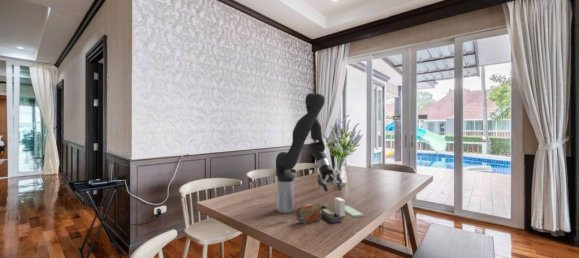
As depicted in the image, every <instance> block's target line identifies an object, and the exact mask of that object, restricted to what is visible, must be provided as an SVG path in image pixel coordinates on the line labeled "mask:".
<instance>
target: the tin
mask: <svg viewBox="0 0 579 258" xmlns="http://www.w3.org/2000/svg"><path fill="white" fill-rule="evenodd" d="M322 206H323V205H321V204H318V203H312V204H304V205H301V206H299V207H298V208H297V210H296V211H295V213H296V214H295V217H296V220H297V221H298V222H300V223H301V224H304V225H305V224H309V223H313V222H317V221H320V220H321V219H322V217H323V208H322Z"/></svg>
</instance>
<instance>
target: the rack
mask: <svg viewBox="0 0 579 258" xmlns="http://www.w3.org/2000/svg"><path fill="white" fill-rule="evenodd" d="M321 206H322V208H323V209H329V210H330V211H332V212H333V213H334V217H331V216H329V215H328V214H327V213H325V212H324V211H323V216H322V217H323V218H324V219H326V220H327V221H328V222H329V223H330V224H336V223H341V222H342V217H340V216H339V215H337V214H336V213H335V211H333V210H332V209H330V208H328V207H327V206H325V205H324V204H323V205H321Z"/></svg>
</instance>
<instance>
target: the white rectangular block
mask: <svg viewBox="0 0 579 258" xmlns="http://www.w3.org/2000/svg"><path fill="white" fill-rule="evenodd" d="M345 206H346V200H345V199H343V198H341V197H335V198H334V213H336V214H337V215H339V216H340V217H341V218H342V217H346V212H345Z"/></svg>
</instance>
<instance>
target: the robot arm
mask: <svg viewBox="0 0 579 258" xmlns="http://www.w3.org/2000/svg"><path fill="white" fill-rule="evenodd" d="M325 99H326V98H325V95H324V94H322V93H314V92H313V93H307V94H306V96H305V109H306V114H304V115H303V116H301V117H300V118H299V119H298V120H297V122H296V124H295V126H294V128H293V130H292V142H291V145H290V148H289V150H288V151H281V152H279V153H277V156H276V158H275V174H276V177H277V193H276V211H277V212H278V213H280V214H281V213H282V214H288V213H292V212H294V205H295V204H294V202H295V201H294V200H295V199H294V196H295V195H294V194H295V193H294V192H295V191H294V189H295V188H294V186H295V185H294V183H295V181H294V180H295V178H294V177H295V176H294V174H292V173H291V171H290V170H293V169H294V168H295V166H296V165H297V163H298V160H299V157H300V154H301V151H302V148H303V147H304V144H305V143H306V140H307V138H308V136H309V134H310V139H311V140H314V141H315V142H310V143H309V145H308V150H309V152H310V153H311V154H310V155H312V156H313V157H314V159H315V161H316V164H317V168H318V172H319V173H320V174H318V175H317V177H316V180H317V182H318V186H319V187H320V186H321V187H322V188H323V191H324V192H325V193H327V192H328V191H329V188H328V187H327V184H329V183H333V184H335V185H336V188H337V190H338V192H339V191H341V190H342V186H341V185H342V183H343V180H342V178H341V176H340V174H339V173H336V174H334V172H333V171H334V170H333V169H332V166H331V164H330V161H329V160H328V157H327V154H326V153H325V149H326V146H325V142H324V140H323V133H322V126H321V122H320V120H319V118H318V116H319V114H320V112H321V111H322V109H323V108H324V105H325V102H326V100H325ZM322 180H323V181H322ZM326 183H327V184H326Z"/></svg>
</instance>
